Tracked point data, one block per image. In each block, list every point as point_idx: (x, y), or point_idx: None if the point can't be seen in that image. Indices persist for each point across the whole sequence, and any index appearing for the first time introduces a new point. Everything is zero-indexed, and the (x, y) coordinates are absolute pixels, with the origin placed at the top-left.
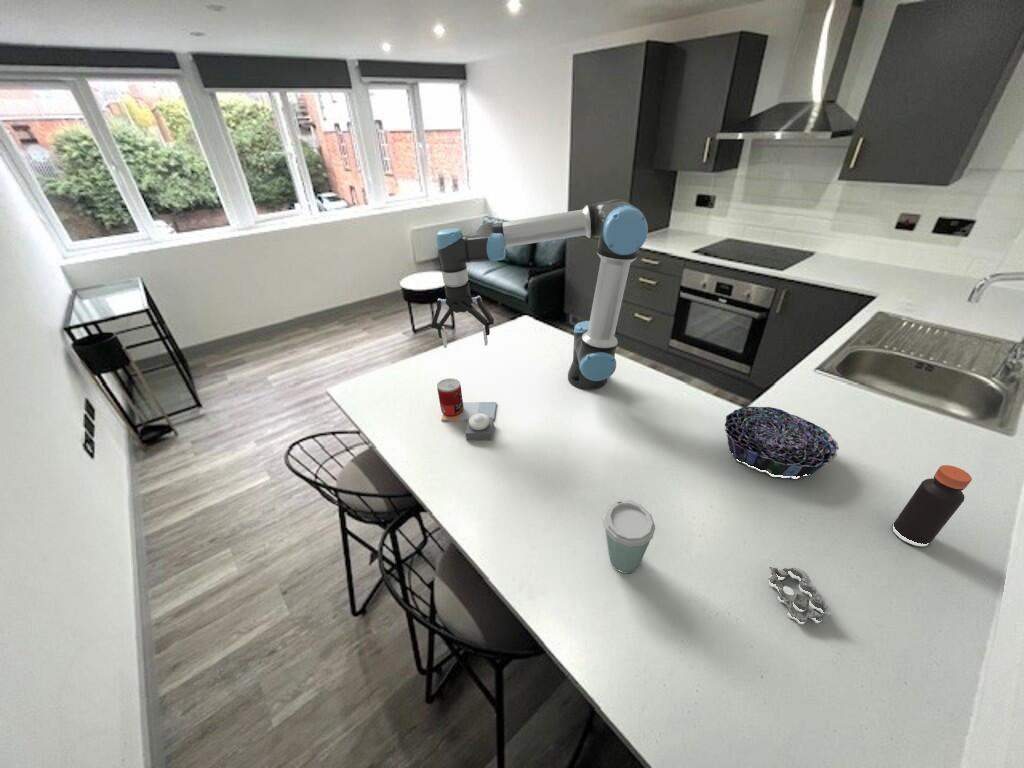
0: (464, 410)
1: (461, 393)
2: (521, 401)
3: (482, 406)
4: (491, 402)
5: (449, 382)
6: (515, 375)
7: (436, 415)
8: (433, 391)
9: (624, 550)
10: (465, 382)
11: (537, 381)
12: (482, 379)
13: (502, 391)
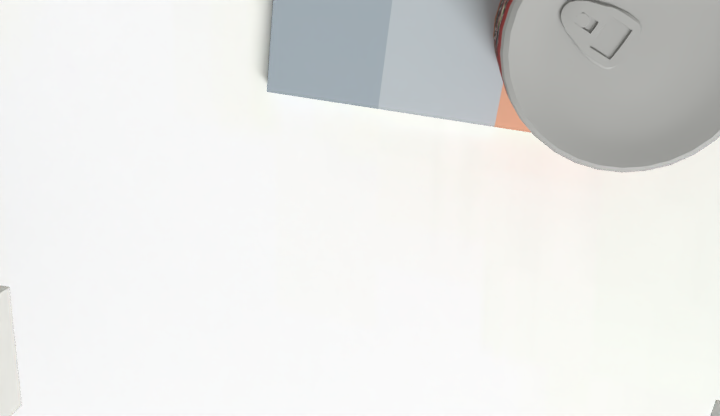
0: (488, 20)
1: (498, 28)
2: (118, 89)
3: (359, 50)
4: (298, 90)
5: (615, 105)
6: (163, 367)
7: None
8: (701, 312)
9: None
10: (470, 365)
11: (38, 279)
12: (359, 372)
13: (235, 219)
